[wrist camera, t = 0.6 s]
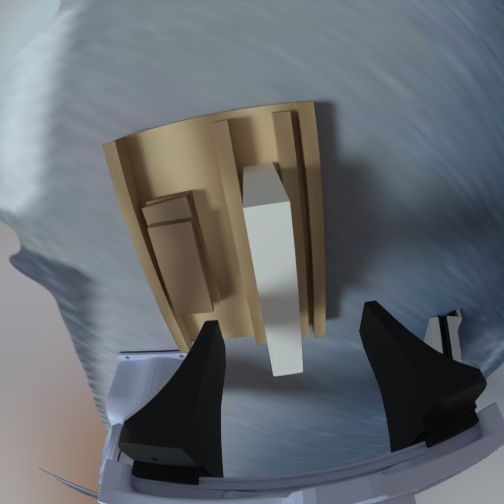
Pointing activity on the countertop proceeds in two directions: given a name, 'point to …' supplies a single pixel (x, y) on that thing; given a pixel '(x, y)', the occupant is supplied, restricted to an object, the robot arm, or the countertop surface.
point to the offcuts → (182, 253)
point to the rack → (228, 207)
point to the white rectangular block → (274, 264)
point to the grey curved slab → (445, 335)
